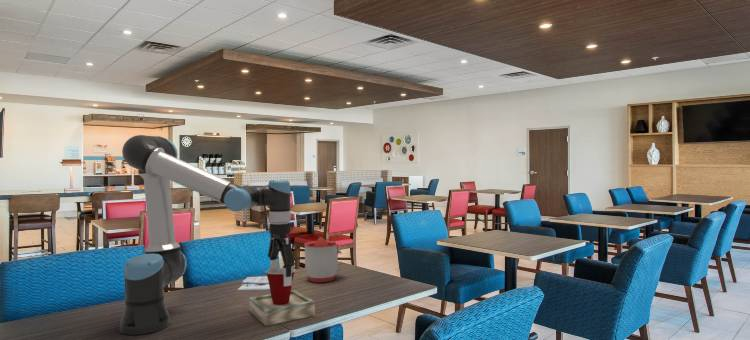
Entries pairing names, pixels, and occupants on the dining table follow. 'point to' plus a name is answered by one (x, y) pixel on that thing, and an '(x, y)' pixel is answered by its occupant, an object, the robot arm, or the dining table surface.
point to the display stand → (281, 308)
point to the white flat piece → (255, 283)
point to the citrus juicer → (321, 260)
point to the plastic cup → (279, 286)
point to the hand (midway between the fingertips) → (280, 281)
